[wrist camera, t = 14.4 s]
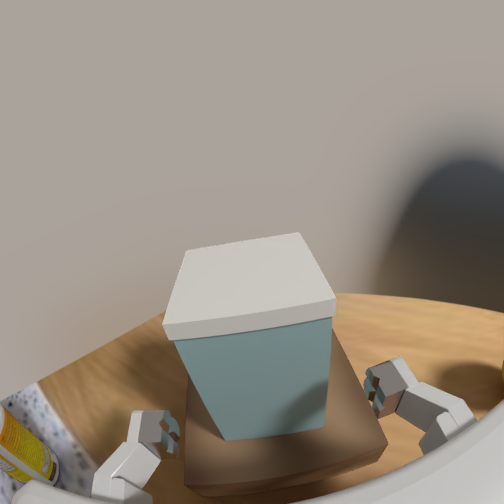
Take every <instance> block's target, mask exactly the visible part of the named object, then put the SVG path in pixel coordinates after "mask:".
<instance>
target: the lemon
mask: <svg viewBox="0 0 504 504" xmlns="http://www.w3.org/2000/svg"><path fill="white" fill-rule="evenodd" d="M502 377H503V382H504V361H503V366H502Z"/></svg>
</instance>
